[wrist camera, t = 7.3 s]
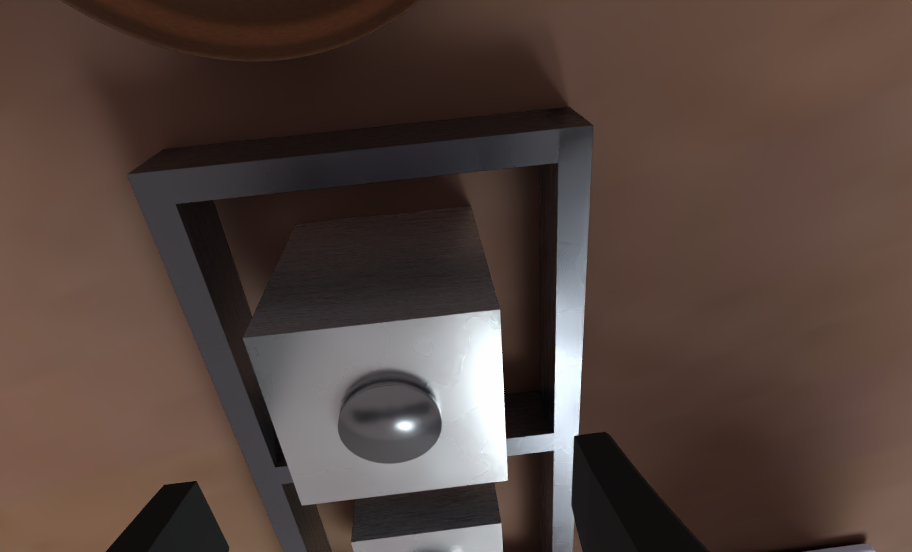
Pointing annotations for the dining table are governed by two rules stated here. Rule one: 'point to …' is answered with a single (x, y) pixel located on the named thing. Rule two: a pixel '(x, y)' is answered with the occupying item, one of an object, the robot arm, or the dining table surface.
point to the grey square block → (383, 356)
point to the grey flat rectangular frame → (359, 162)
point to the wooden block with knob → (429, 521)
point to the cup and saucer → (245, 24)
